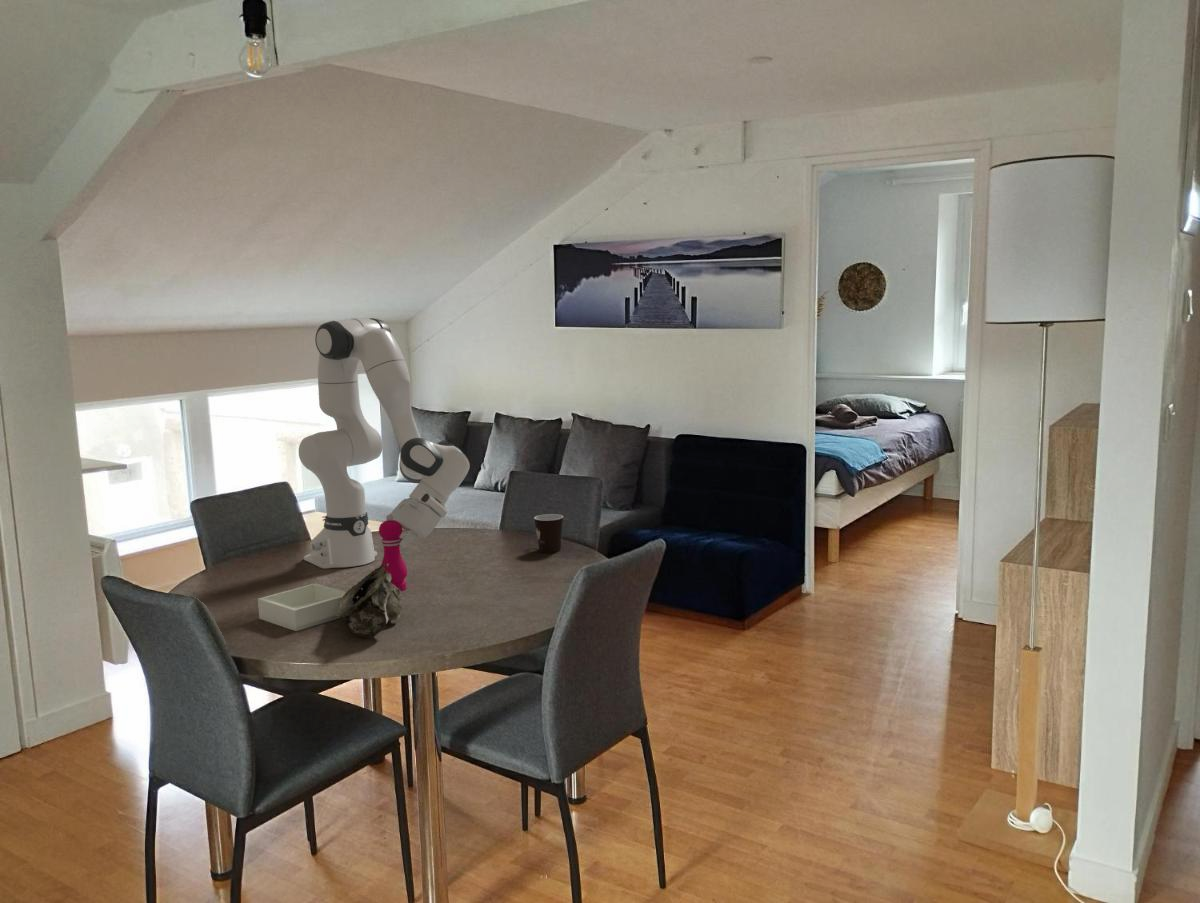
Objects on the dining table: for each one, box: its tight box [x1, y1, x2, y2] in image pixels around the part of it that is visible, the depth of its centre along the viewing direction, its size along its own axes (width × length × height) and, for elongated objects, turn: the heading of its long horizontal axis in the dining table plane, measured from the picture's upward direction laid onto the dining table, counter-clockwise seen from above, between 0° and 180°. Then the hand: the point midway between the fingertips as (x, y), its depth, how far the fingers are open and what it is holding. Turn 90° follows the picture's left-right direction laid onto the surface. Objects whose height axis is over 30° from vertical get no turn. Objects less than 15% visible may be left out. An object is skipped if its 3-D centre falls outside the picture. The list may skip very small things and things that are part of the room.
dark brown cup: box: [533, 513, 564, 554], centre depth 299 cm, size 12×9×10 cm
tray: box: [257, 582, 349, 632], centre depth 242 cm, size 16×16×5 cm
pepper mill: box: [378, 513, 408, 592], centre depth 261 cm, size 7×7×20 cm
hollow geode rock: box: [336, 563, 404, 639], centre depth 232 cm, size 28×13×15 cm
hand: (393, 542), depth 261 cm, fingers open, 8 cm apart
